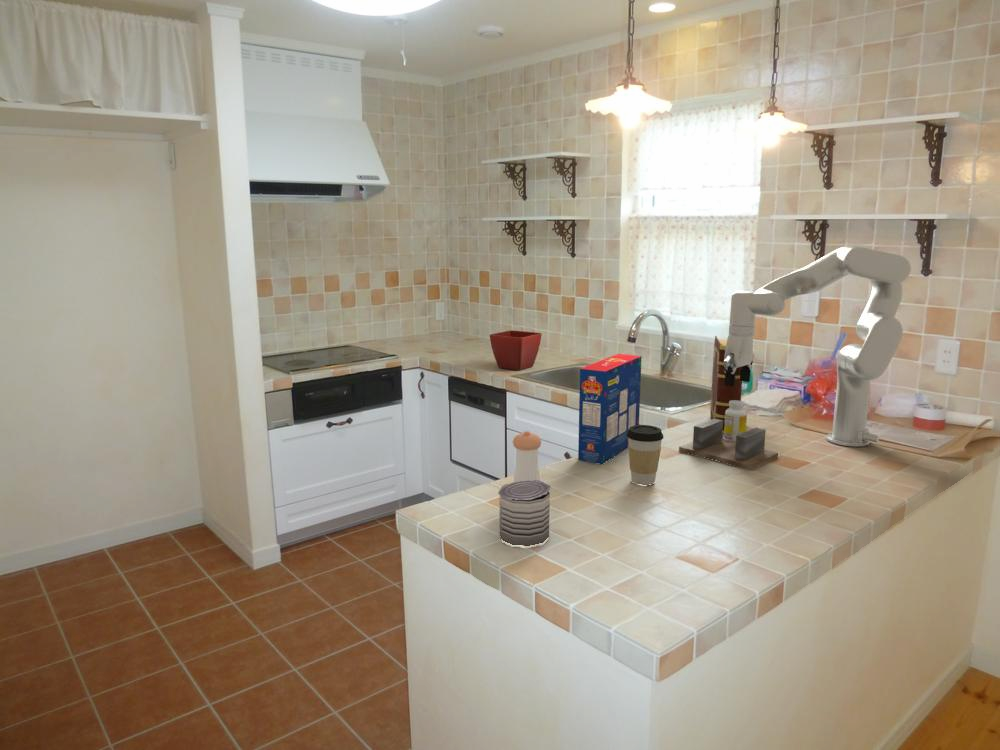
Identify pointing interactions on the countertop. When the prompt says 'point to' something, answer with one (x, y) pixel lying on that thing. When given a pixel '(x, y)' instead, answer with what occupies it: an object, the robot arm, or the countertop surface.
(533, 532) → the can
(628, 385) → the blue cereal box
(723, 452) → the stand
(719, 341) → the decorative book
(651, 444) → the coffee cup
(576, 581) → the countertop surface
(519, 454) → the pepper shaker
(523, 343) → the plant pot
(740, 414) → the supplement bottle
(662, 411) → the countertop surface
